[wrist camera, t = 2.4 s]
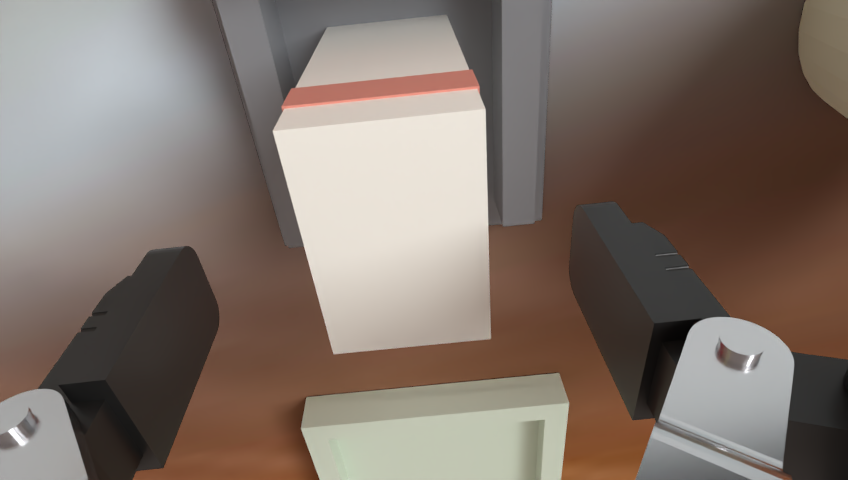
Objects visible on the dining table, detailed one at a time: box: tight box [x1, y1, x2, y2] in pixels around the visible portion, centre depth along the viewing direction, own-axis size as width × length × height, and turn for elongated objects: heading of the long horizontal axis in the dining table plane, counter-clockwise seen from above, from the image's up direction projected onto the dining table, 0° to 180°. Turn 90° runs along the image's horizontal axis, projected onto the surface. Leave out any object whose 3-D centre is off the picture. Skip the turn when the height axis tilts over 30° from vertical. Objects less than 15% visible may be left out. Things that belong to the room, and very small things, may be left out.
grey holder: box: [212, 0, 552, 248], centre depth 17 cm, size 11×13×5 cm
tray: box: [301, 373, 569, 480], centre depth 31 cm, size 14×14×2 cm
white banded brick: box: [273, 15, 491, 354], centre depth 15 cm, size 4×6×9 cm
